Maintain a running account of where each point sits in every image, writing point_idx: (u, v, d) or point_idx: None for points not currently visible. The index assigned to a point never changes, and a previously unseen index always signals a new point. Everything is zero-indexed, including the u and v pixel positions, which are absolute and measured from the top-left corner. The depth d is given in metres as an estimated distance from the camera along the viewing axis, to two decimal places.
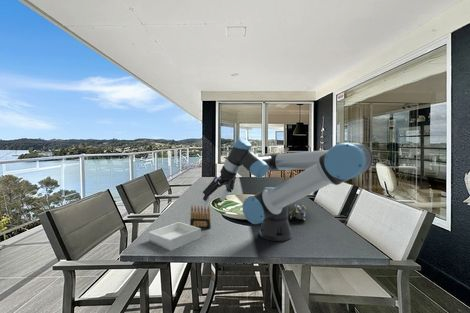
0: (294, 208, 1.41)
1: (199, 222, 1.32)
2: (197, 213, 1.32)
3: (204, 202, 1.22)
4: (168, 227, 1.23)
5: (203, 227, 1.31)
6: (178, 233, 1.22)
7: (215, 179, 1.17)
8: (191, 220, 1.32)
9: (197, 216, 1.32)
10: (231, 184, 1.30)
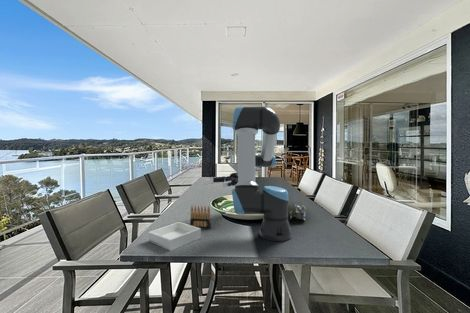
0: (294, 208, 1.41)
1: (199, 222, 1.32)
2: (197, 213, 1.32)
3: None
4: (168, 227, 1.23)
5: (203, 227, 1.31)
6: (178, 233, 1.22)
7: None
8: (191, 220, 1.32)
9: (197, 216, 1.32)
10: None
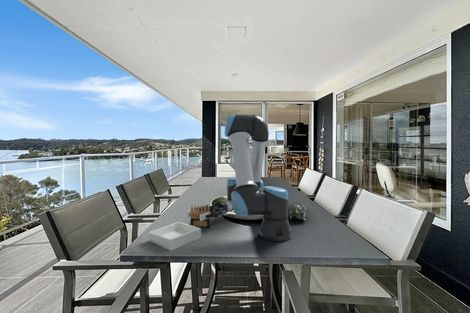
0: (294, 208, 1.41)
1: (199, 222, 1.32)
2: (197, 213, 1.32)
3: None
4: (168, 227, 1.23)
5: (203, 227, 1.31)
6: (178, 233, 1.22)
7: None
8: (191, 220, 1.32)
9: (197, 216, 1.32)
10: None
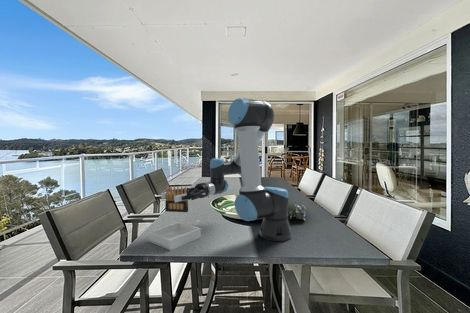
0: (294, 208, 1.41)
1: (175, 205, 1.18)
2: (173, 194, 1.18)
3: None
4: (168, 227, 1.23)
5: (179, 210, 1.18)
6: (178, 233, 1.22)
7: None
8: (166, 202, 1.18)
9: (173, 198, 1.18)
10: None
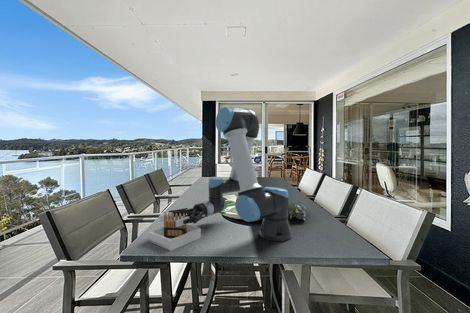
0: (294, 208, 1.41)
1: (174, 231, 1.16)
2: (171, 221, 1.16)
3: None
4: None
5: None
6: None
7: None
8: (164, 229, 1.16)
9: (171, 225, 1.16)
10: None
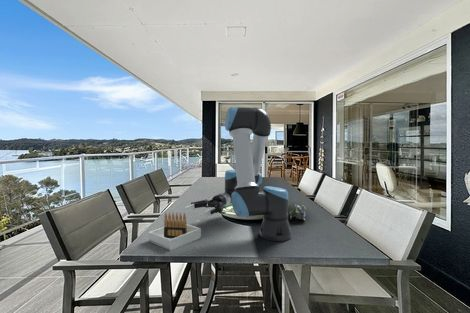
0: (294, 208, 1.41)
1: (174, 231, 1.16)
2: (171, 221, 1.16)
3: None
4: None
5: None
6: None
7: None
8: (165, 229, 1.17)
9: (172, 224, 1.16)
10: None
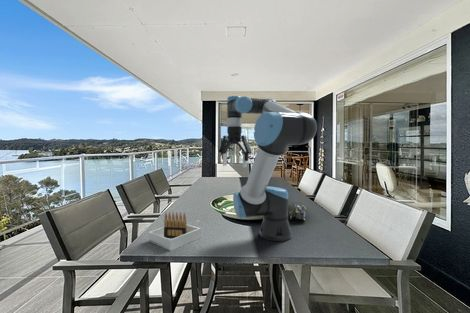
0: (294, 208, 1.41)
1: (174, 231, 1.16)
2: (172, 221, 1.16)
3: None
4: None
5: None
6: None
7: None
8: (165, 229, 1.17)
9: (172, 224, 1.16)
10: None
